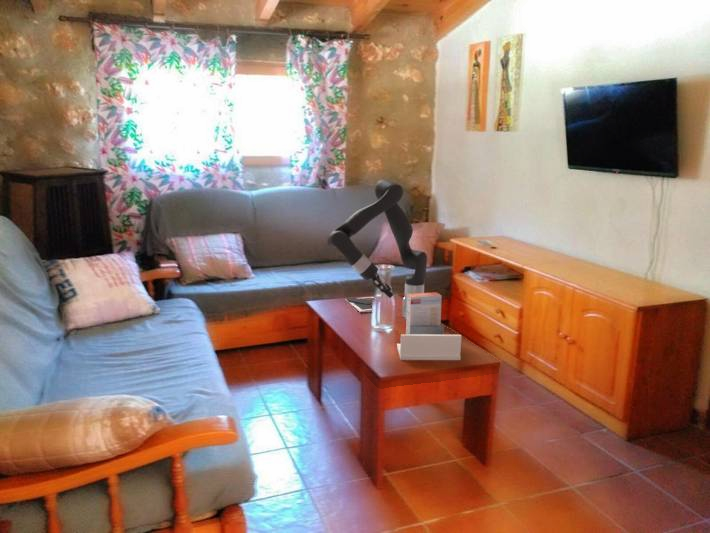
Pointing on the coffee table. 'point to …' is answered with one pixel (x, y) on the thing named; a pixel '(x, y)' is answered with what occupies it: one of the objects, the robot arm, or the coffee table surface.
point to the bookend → (427, 329)
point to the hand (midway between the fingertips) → (390, 293)
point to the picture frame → (361, 303)
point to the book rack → (429, 347)
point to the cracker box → (423, 309)
